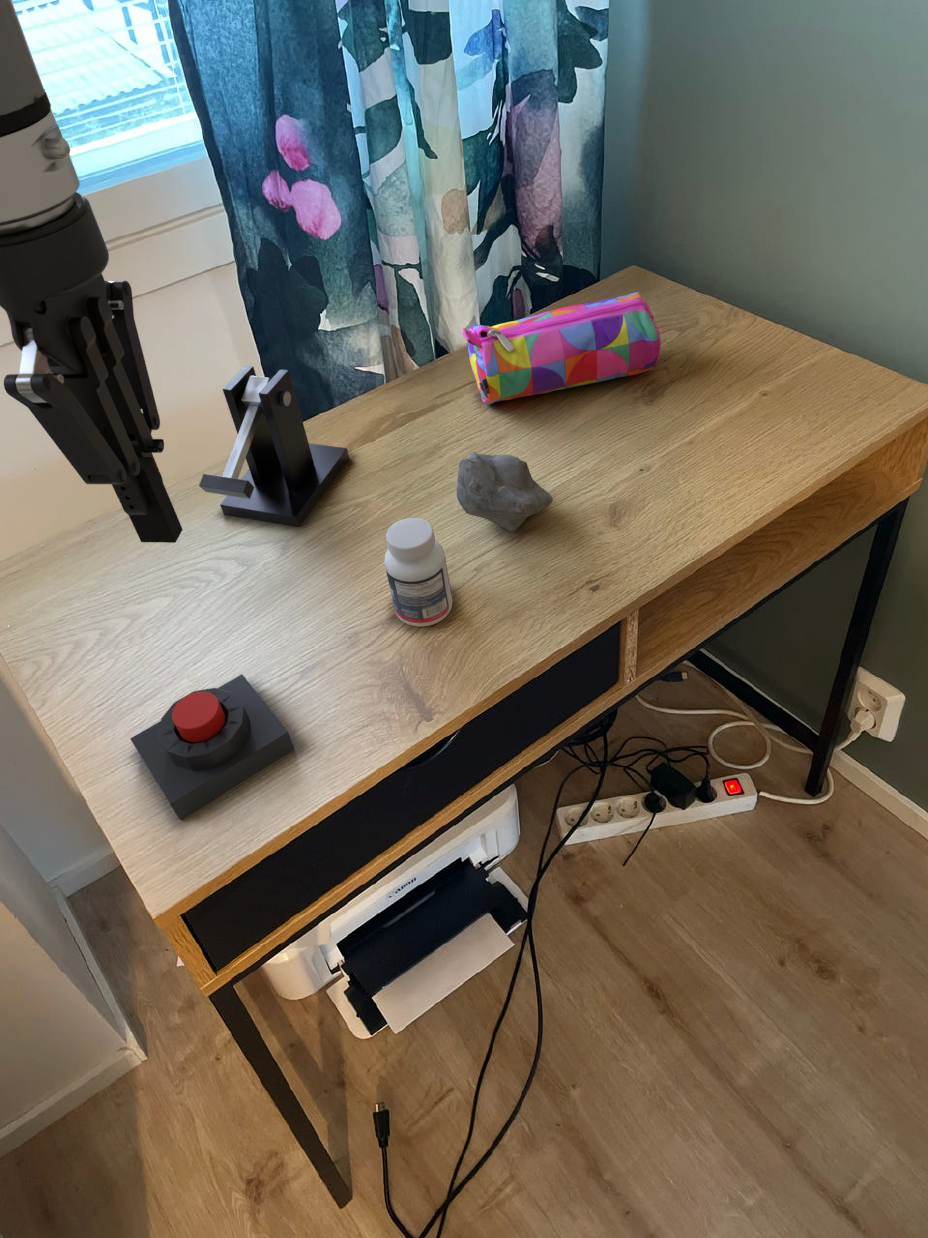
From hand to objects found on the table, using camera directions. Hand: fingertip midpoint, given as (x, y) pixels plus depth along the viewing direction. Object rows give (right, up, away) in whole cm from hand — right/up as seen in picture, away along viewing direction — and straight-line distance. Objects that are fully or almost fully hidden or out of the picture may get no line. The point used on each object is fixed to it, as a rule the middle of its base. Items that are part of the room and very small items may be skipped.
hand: (161, 535), depth 66 cm
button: (+2, -14, +3) cm, 15 cm away
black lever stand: (+3, +8, +30) cm, 31 cm away
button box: (+3, -17, +6) cm, 18 cm away
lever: (+1, +11, +22) cm, 24 cm away
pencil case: (+34, +21, +38) cm, 55 cm away
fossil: (+26, +3, +22) cm, 34 cm away
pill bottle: (+19, -5, +15) cm, 24 cm away
